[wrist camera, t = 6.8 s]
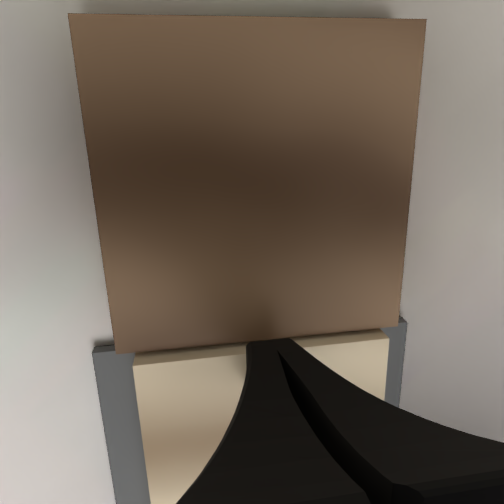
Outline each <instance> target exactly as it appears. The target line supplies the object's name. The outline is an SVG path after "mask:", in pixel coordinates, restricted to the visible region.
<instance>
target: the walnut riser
mask: <svg viewBox="0 0 504 504" xmlns="http://www.w3.org/2000/svg"><path fill="white" fill-rule="evenodd" d="M68 19H69V26H70V33H71V40H72V47H73V54H74V61H75V68H76V76H77V83H78V90H79V97H80V104H81V111H82V118H83V125H84V132H85V139H86V146H87V153H88V160H89V167H90V175H91V182H92V189H93V196H94V203H95V210H96V217H97V224H98V231H99V238H100V245H101V252H102V259H103V267H104V274H105V281H106V288H107V295H108V302H109V309H110V316H111V323H112V330H113V337H114V344H115V351H116V354H126V353H136V352H146V351H156V350H166V349H176V348H186V347H196V346H206V345H216V344H226V343H236V342H246V341H256V340H266V339H276V338H286V337H296V336H306V335H316V334H326V333H336V332H346V331H356V330H366V329H376V328H386V327H396V326H398V321H399V310H400V300H401V289H402V278H403V267H404V257H405V246H406V235H407V224H408V213H409V203H410V192H411V181H412V170H413V160H414V149H415V138H416V127H417V117H418V106H419V95H420V84H421V74H422V63H423V52H424V41H425V31H426V20H427V19H387V18H324V17H261V16H199V15H136V14H73V13H68Z"/></svg>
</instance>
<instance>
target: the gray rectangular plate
mask: <svg viewBox="0 0 504 504" xmlns="http://www.w3.org/2000/svg"><path fill="white" fill-rule="evenodd" d="M380 329H381V330H382V331H383V332H384V333H385V334H386V335H387V336H388V337H389V350H388V362H387V375H386V387H385V399H384V401H385V402H387V403H389V404H391V405H394V406H396V407H398V408H399V401H400V391H401V381H402V371H403V361H404V351H405V341H406V331H407V321H405V320H404V319H403V318H402V317H400V318H399V321H398V326H396V327H386V328H380ZM92 357H93V363H94V370H95V376H96V382H97V388H98V394H99V401H100V407H101V413H102V419H103V425H104V432H105V438H106V444H107V450H108V456H109V463H110V469H111V475H112V481H113V487H114V493H115V500H116V504H151V501H150V494H149V486H148V479H147V471H146V464H145V456H144V449H143V441H142V434H141V426H140V419H139V411H138V404H137V396H136V389H135V381H134V374H133V362H134V358H135V353H126V354H116V351H115V345H110V346H99V347H94V350H93V352H92Z"/></svg>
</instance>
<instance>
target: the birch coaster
mask: <svg viewBox="0 0 504 504" xmlns="http://www.w3.org/2000/svg"><path fill="white" fill-rule="evenodd" d="M286 338H290V339H292V340H293V341H295V342H296V343H297V344H298V345H300V346H301V347H302V348H303V349H305V350H306V351H307V352H309V353H310V354H311V355H312V356H314V357H315V358H316V359H318V360H319V361H320V362H322V363H323V364H324V365H326V366H327V367H329V368H330V369H331V370H333V371H334V372H336V373H337V374H339V375H340V376H342V377H343V378H345V379H346V380H348V381H350V382H351V383H353V384H354V385H356V386H358V387H359V388H361V389H363V390H364V391H366V392H368V393H370V394H372V395H374V396H376V397H378V398H380V399H381V400H383V401H384V399H385V387H386V375H387V362H388V350H389V337H388V336H387V335H386V334H385V333H384V332H383V331H382V330H381V329H380V328H376V329H366V330H356V331H346V332H336V333H326V334H316V335H306V336H296V337H286ZM276 339H284V338H276ZM266 340H274V339H266ZM256 341H264V340H256ZM249 342H254V341H246V342H236V343H226V344H216V345H206V346H196V347H186V348H176V349H166V350H156V351H146V352H136V353H135V358H134V362H133V374H134V381H135V389H136V396H137V404H138V411H139V419H140V426H141V434H142V441H143V449H144V456H145V464H146V471H147V479H148V486H149V494H150V501H151V504H176V503H177V502H178V500H179V499H180V498H181V497H182V496H183V494H184V493H185V492H186V491H187V490H188V488H189V487H190V486H191V485H192V483H193V482H194V481H195V480H196V478H197V477H198V476H199V474H200V473H201V472H202V470H203V469H204V467H205V466H206V464H207V463H208V461H209V460H210V458H211V457H212V455H213V453H214V452H215V450H216V449H217V447H218V445H219V444H220V442H221V440H222V438H223V436H224V434H225V432H226V430H227V428H228V426H229V424H230V422H231V420H232V417H233V415H234V413H235V410H236V407H237V405H238V402H239V399H240V395H241V392H242V388H243V385H244V381H245V376H246V370H247V369H246V345H247V344H248V343H249Z"/></svg>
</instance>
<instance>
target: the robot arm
mask: <svg viewBox="0 0 504 504" xmlns="http://www.w3.org/2000/svg"><path fill="white" fill-rule="evenodd" d="M246 369H247V370H246V376H245V381H244V385H243V388H242V392H241V395H240V399H239V402H238V405H237V407H236V410H235V413H234V415H233V417H232V420H231V422H230V424H229V426H228V428H227V430H226V432H225V434H224V436H223V438H222V440H221V442H220V444H219V445H218V447H217V449H216V450H215V452H214V453H213V455H212V457H211V458H210V460H209V461H208V463H207V464H206V466H205V467H204V469H203V470H202V472H201V473H200V474H199V476H198V477H197V478H196V480H195V481H194V482H193V483H192V485H191V486H190V487H189V488H188V490H187V491H186V492H185V493H184V494H183V496H182V497H181V498H180V499H179V500H178V502H177V503H176V504H504V443H502V442H498V441H494V440H490V439H487V438H483V437H479V436H475V435H471V434H468V433H465V432H462V431H459V430H456V429H452V428H449V427H446V426H443V425H440V424H438V423H435V422H432V421H429V420H427V419H424V418H422V417H419V416H417V415H414V414H412V413H410V412H407V411H405V410H402V409H400V408H398V407H396V406H394V405H391V404H389V403H387V402H385V401H383V400H381V399H380V398H378V397H376V396H374V395H372V394H370V393H368V392H366V391H364V390H363V389H361V388H359V387H358V386H356V385H354V384H353V383H351V382H350V381H348V380H346V379H345V378H343V377H342V376H340V375H339V374H337V373H336V372H334V371H333V370H331V369H330V368H329V367H327V366H326V365H324V364H323V363H322V362H320V361H319V360H318V359H316V358H315V357H314V356H312V355H311V354H310V353H309V352H307V351H306V350H305V349H303V348H302V347H301V346H300V345H298V344H297V343H296V342H295V341H293V340H292V339H290V338H284V339H274V340H264V341H254V342H249V343H248V344H247V345H246Z"/></svg>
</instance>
